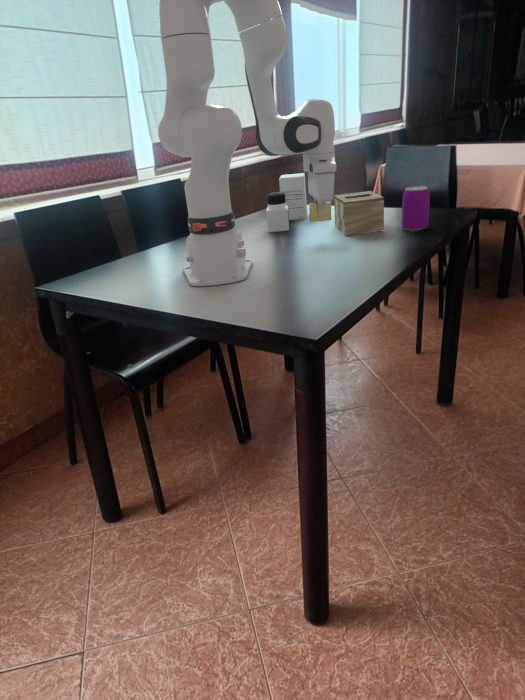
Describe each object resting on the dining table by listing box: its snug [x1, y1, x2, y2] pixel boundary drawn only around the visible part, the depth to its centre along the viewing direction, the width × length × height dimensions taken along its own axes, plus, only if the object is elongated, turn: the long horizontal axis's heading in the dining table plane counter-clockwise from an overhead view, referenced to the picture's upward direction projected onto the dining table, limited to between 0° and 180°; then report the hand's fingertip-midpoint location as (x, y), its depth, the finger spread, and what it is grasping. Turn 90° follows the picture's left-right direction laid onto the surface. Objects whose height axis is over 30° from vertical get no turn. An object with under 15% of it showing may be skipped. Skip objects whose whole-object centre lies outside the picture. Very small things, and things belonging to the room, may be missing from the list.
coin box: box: [333, 190, 385, 237], centre depth 154 cm, size 14×12×10 cm
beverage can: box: [401, 185, 431, 231], centre depth 146 cm, size 8×8×12 cm
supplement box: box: [278, 172, 308, 221], centre depth 180 cm, size 9×9×15 cm
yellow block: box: [308, 201, 332, 223], centre depth 144 cm, size 2×6×5 cm, turn 94°
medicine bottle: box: [266, 191, 291, 233], centre depth 165 cm, size 7×7×12 cm
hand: (320, 214), depth 144 cm, fingers closed on yellow block, 2 cm apart
